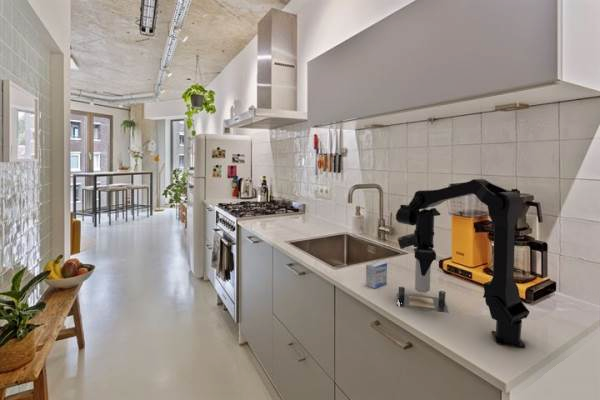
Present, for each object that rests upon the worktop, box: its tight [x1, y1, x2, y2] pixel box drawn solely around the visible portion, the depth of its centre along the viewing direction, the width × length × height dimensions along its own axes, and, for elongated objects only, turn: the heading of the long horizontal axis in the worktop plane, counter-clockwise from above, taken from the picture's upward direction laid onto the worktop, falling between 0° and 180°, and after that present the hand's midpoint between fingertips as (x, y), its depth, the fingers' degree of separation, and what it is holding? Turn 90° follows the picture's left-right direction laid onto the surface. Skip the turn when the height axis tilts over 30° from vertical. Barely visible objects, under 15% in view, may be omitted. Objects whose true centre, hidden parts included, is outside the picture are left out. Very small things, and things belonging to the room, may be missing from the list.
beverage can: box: [414, 258, 432, 293], centre depth 112 cm, size 5×5×12 cm
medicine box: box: [365, 260, 388, 289], centre depth 129 cm, size 8×4×9 cm, turn 131°
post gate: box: [396, 286, 450, 314], centre depth 113 cm, size 12×16×5 cm
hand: (422, 273), depth 112 cm, fingers closed on beverage can, 5 cm apart
